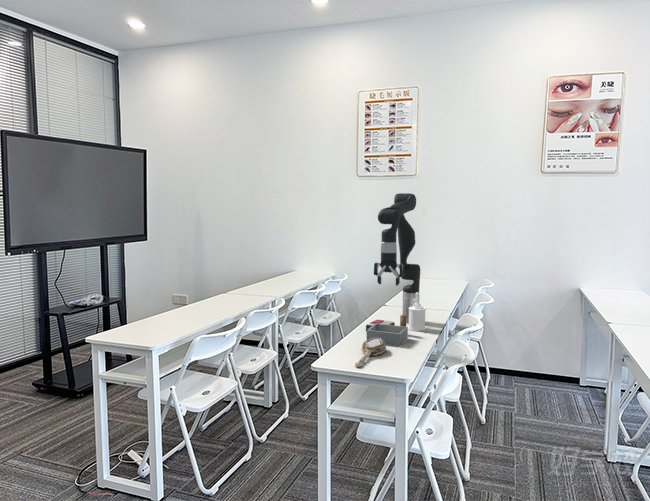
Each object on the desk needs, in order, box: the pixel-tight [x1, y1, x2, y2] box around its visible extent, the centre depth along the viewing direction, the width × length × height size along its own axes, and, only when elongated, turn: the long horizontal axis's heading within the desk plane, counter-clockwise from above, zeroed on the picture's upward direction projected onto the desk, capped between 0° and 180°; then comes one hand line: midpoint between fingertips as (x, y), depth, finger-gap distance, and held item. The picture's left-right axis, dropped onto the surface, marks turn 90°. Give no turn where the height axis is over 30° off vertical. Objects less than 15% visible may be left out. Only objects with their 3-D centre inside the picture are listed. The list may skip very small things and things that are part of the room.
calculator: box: [365, 319, 396, 332], centre depth 261 cm, size 11×4×15 cm
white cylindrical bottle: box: [407, 292, 427, 332], centre depth 261 cm, size 10×9×20 cm
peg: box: [399, 314, 407, 327], centre depth 251 cm, size 3×3×10 cm
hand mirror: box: [354, 337, 387, 368], centre depth 216 cm, size 11×6×30 cm
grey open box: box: [366, 323, 409, 347], centre depth 241 cm, size 14×17×6 cm
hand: (388, 284), depth 233 cm, fingers open, 8 cm apart
